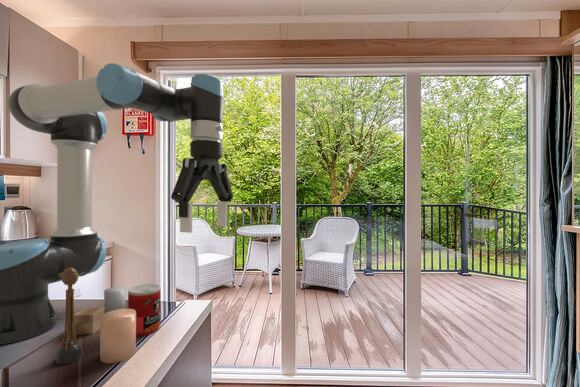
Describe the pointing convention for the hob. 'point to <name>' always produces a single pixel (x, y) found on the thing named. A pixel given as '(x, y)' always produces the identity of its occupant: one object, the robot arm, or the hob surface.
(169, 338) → the hob surface
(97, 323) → the walnut block
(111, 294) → the grey-white rounded cylinder
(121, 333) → the peach cylinder
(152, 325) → the canned food
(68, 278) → the wooden tabletop sculpture
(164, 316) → the hob surface
